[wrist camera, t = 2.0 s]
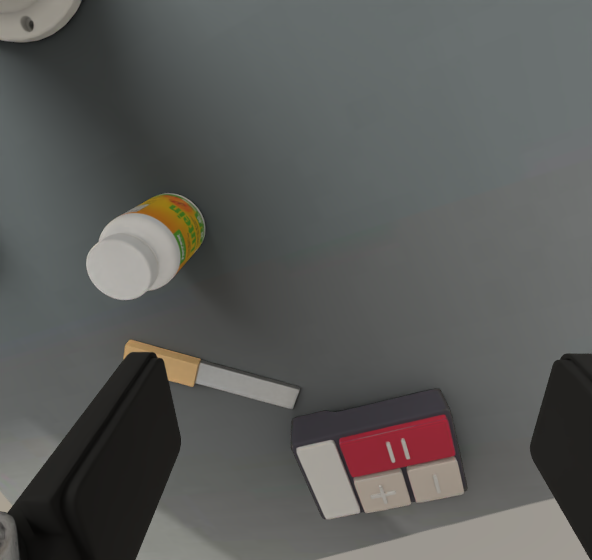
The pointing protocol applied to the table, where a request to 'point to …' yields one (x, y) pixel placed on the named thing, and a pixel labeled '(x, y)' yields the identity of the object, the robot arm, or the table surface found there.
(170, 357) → the chisel
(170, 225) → the supplement bottle
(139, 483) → the robot arm
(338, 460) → the calculator
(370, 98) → the table surface
